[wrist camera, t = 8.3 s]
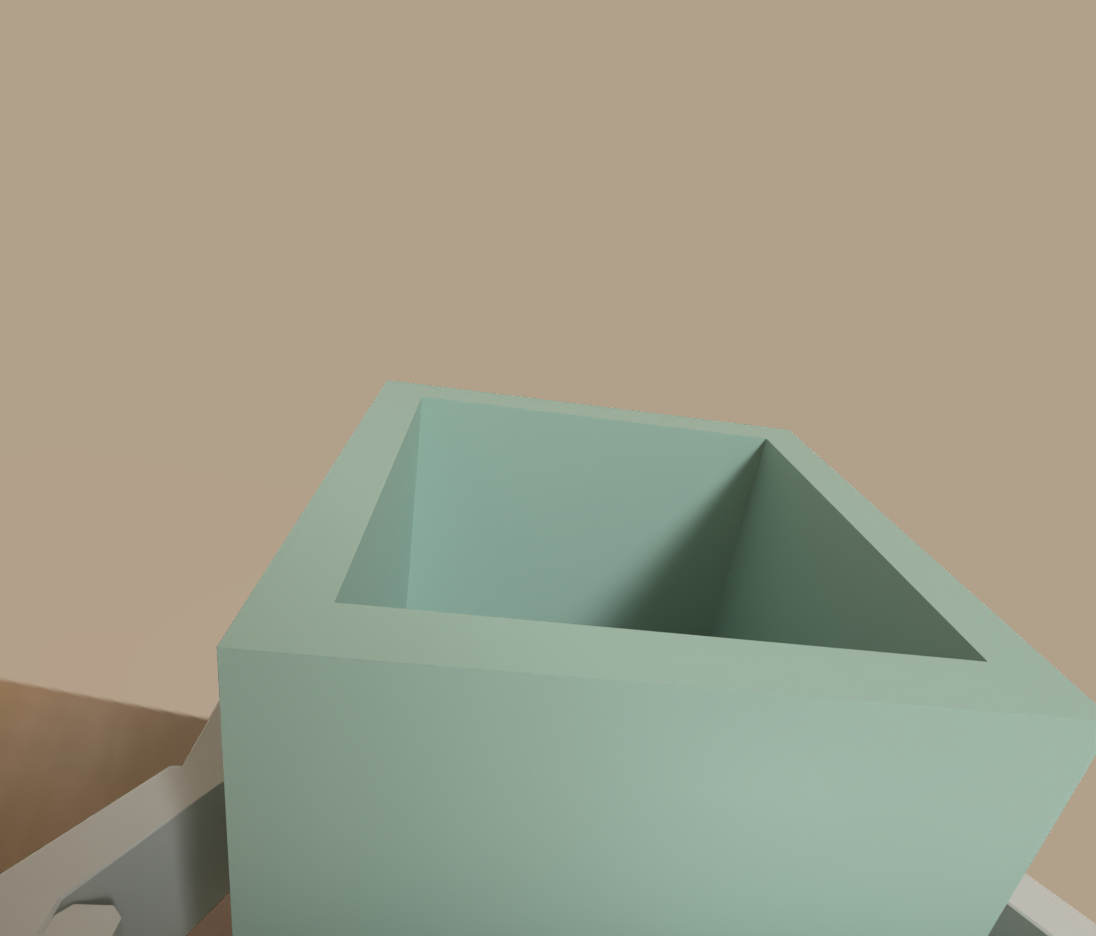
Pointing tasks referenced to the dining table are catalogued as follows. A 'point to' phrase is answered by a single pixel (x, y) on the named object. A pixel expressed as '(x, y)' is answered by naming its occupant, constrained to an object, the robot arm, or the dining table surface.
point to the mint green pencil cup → (623, 694)
